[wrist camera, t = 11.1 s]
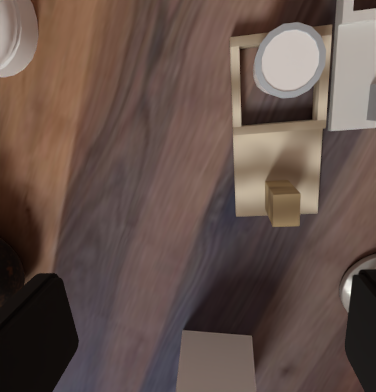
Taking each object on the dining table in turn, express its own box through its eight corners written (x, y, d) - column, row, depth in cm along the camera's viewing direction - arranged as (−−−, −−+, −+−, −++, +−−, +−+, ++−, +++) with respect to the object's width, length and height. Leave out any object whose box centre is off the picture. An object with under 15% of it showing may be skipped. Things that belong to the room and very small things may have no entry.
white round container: (268, 27, 32) (280, 7, 25) (317, 57, 32) (342, 44, 26) (237, 82, 34) (241, 77, 28) (283, 109, 35) (298, 111, 28)
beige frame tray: (314, 210, 38) (334, 232, 32) (235, 213, 40) (239, 235, 33) (325, 29, 31) (353, 8, 25) (229, 41, 33) (231, 25, 26)
